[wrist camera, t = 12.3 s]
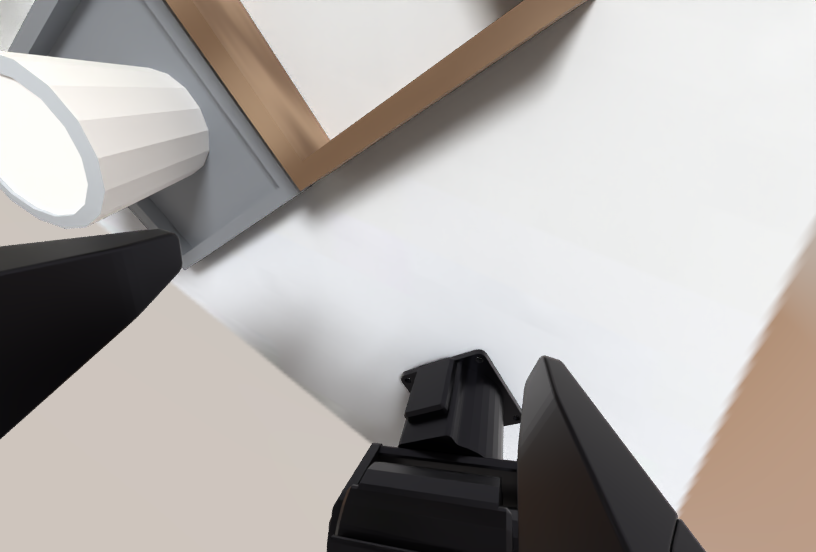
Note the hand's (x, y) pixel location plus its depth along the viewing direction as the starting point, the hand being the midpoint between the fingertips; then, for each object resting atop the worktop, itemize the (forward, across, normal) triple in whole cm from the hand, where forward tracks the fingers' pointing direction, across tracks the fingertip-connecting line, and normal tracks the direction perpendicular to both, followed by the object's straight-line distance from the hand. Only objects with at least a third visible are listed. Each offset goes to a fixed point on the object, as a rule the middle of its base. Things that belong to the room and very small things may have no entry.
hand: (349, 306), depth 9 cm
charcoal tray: (+12, +16, +2) cm, 20 cm away
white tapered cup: (+12, +16, +1) cm, 19 cm away
